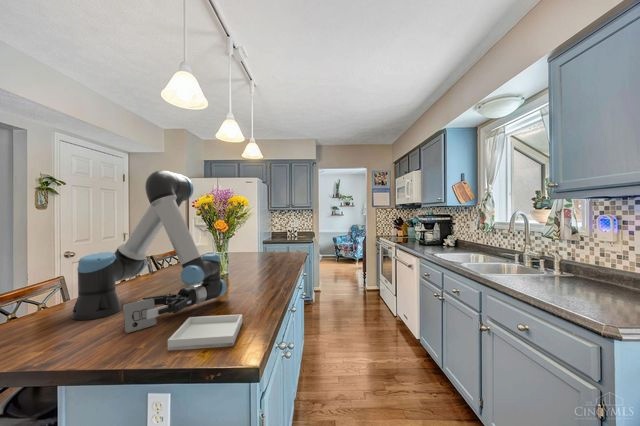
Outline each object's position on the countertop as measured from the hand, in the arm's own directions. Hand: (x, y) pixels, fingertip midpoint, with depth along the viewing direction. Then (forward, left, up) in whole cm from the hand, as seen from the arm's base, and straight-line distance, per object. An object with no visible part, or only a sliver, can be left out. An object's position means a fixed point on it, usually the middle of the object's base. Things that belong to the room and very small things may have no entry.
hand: (135, 311), depth 94 cm
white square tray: (+9, +26, -6) cm, 28 cm away
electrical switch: (-1, 0, -6) cm, 6 cm away
